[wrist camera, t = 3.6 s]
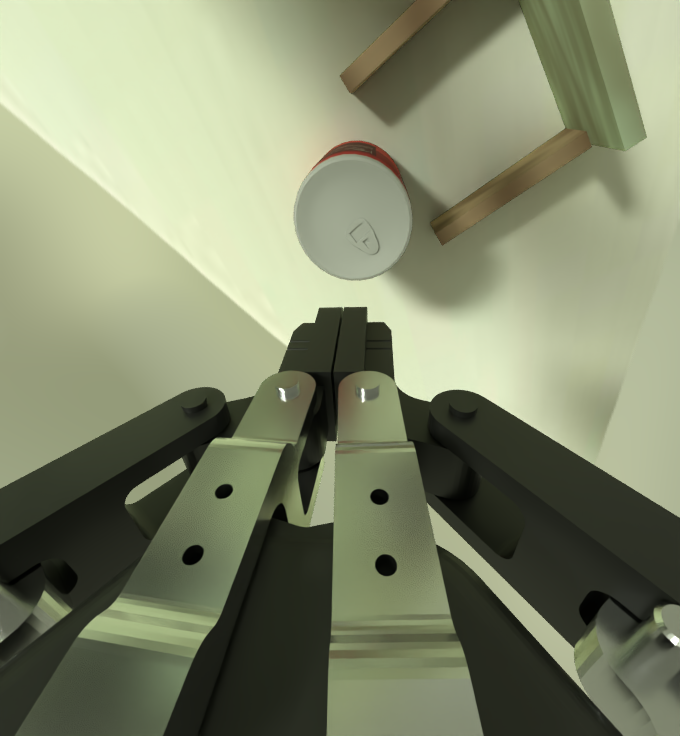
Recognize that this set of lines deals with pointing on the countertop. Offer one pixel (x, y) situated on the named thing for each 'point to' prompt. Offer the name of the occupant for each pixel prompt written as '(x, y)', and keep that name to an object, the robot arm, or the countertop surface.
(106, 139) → the countertop surface
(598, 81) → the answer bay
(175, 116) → the countertop surface
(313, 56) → the countertop surface
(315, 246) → the canned food
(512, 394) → the countertop surface
